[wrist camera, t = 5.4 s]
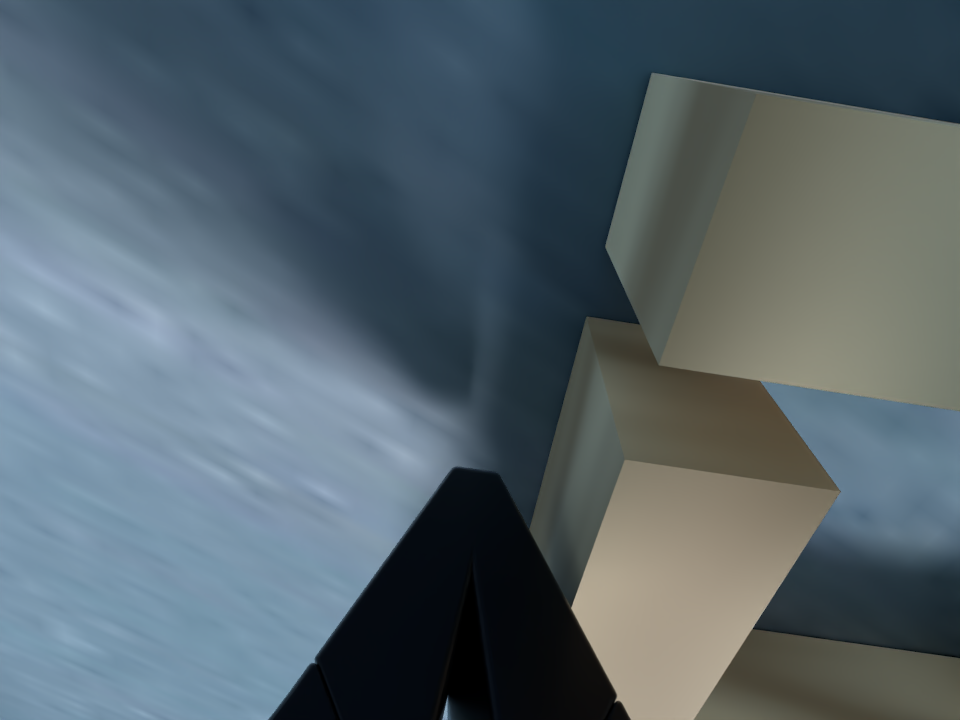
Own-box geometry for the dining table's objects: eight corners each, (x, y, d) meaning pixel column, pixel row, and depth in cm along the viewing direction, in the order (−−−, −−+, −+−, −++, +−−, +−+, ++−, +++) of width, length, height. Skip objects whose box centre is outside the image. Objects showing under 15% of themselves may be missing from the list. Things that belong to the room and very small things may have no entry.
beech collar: (495, 655, 12) (490, 833, 9) (652, 72, 6) (756, 92, 3) (998, 725, 12) (1135, 917, 9) (1589, 227, 6) (2343, 357, 4)
